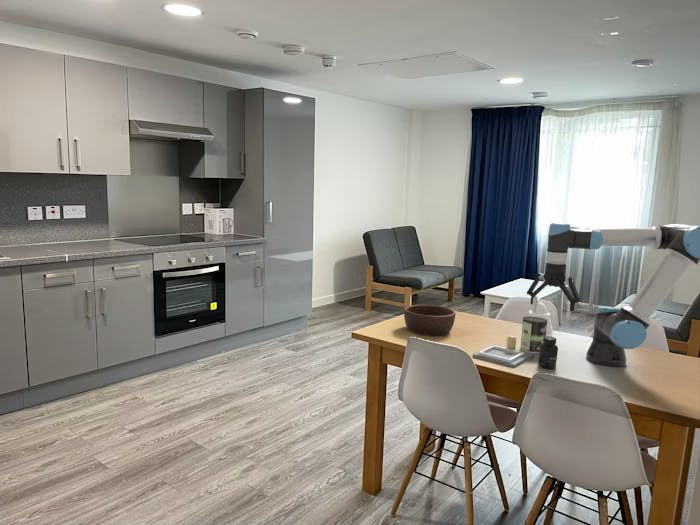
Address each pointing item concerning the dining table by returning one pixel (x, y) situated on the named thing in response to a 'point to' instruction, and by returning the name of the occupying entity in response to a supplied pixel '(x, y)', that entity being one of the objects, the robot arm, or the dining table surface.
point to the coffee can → (533, 334)
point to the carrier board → (504, 354)
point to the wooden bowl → (429, 319)
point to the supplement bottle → (548, 353)
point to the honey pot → (543, 316)
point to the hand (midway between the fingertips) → (551, 316)
